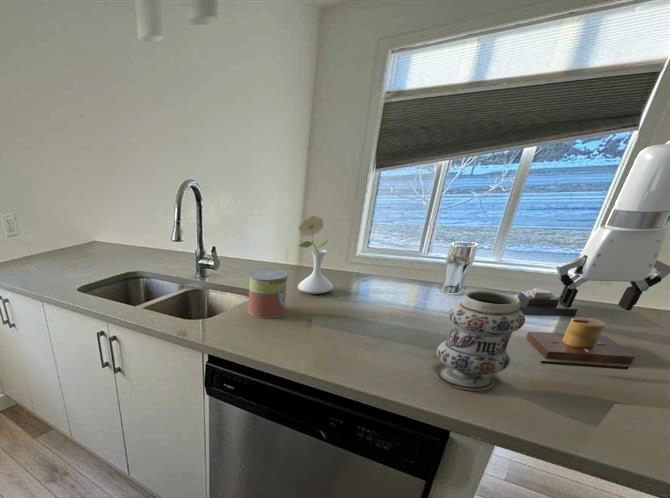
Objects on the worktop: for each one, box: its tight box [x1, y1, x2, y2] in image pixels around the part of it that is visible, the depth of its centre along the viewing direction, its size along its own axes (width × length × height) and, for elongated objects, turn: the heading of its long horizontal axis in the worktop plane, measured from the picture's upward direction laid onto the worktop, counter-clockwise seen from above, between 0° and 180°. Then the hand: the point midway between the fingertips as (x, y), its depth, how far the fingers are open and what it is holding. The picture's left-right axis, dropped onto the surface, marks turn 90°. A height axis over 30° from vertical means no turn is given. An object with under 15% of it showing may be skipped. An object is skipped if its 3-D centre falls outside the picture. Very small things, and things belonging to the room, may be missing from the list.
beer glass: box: [439, 241, 479, 296], centre depth 126 cm, size 7×7×15 cm
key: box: [528, 288, 553, 298], centre depth 111 cm, size 4×4×2 cm
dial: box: [562, 316, 606, 348], centre depth 87 cm, size 5×5×5 cm
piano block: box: [514, 291, 578, 318], centre depth 112 cm, size 14×10×4 cm
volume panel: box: [525, 331, 636, 370], centre depth 89 cm, size 14×11×3 cm
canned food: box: [247, 268, 289, 319], centre depth 125 cm, size 11×11×12 cm
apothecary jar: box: [435, 290, 526, 392], centre depth 81 cm, size 12×12×18 cm
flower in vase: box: [297, 215, 334, 295], centre depth 135 cm, size 13×11×25 cm
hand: (593, 306), depth 84 cm, fingers open, 9 cm apart
